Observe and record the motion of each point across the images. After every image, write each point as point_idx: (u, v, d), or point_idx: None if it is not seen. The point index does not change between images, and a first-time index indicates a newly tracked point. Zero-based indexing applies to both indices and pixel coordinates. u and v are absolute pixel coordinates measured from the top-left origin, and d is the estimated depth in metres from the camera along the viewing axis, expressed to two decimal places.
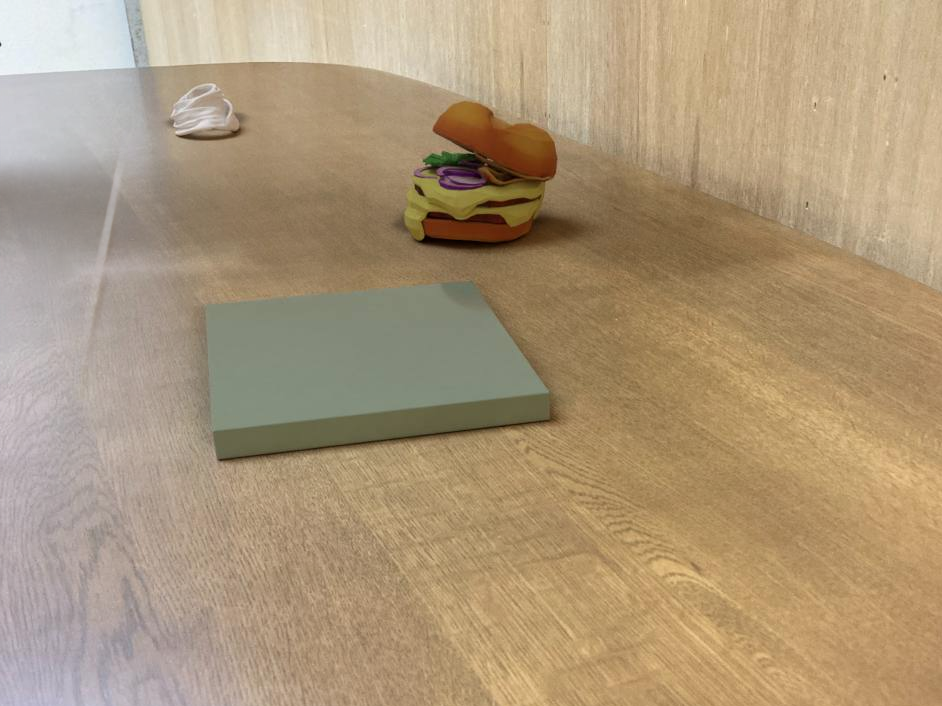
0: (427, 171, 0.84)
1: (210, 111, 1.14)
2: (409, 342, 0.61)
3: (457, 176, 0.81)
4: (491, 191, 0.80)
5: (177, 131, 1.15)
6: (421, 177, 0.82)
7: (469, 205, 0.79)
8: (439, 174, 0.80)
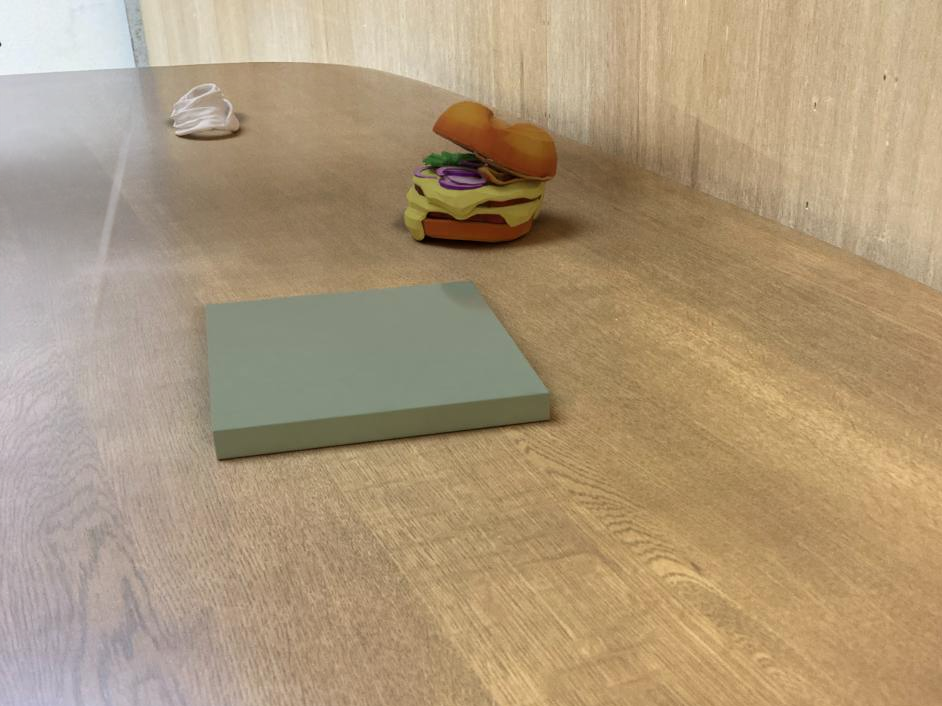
0: (427, 171, 0.84)
1: (210, 111, 1.14)
2: (409, 342, 0.61)
3: (457, 176, 0.81)
4: (491, 191, 0.80)
5: (177, 131, 1.15)
6: (421, 177, 0.82)
7: (469, 205, 0.79)
8: (439, 174, 0.80)
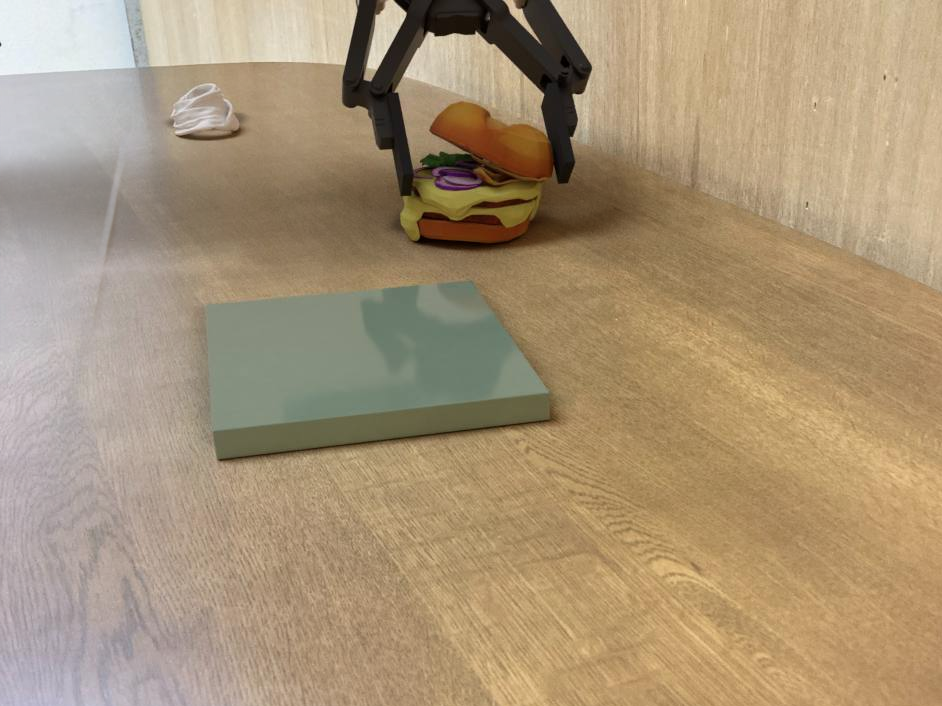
0: (424, 171, 0.84)
1: (210, 111, 1.14)
2: (409, 342, 0.61)
3: (453, 177, 0.81)
4: (486, 192, 0.79)
5: (177, 131, 1.15)
6: (417, 177, 0.82)
7: (464, 206, 0.79)
8: (435, 174, 0.80)
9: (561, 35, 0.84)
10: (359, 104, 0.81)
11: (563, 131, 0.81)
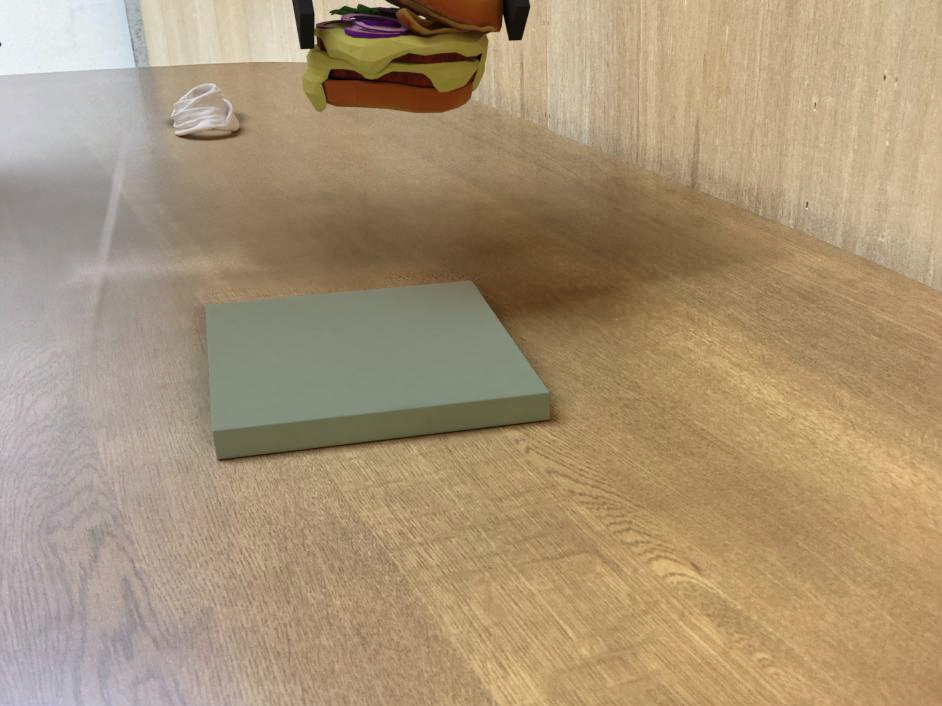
0: (335, 24, 0.64)
1: (210, 111, 1.14)
2: (409, 342, 0.61)
3: (370, 25, 0.62)
4: (412, 41, 0.60)
5: (177, 131, 1.15)
6: (324, 28, 0.63)
7: (382, 58, 0.60)
8: (344, 19, 0.61)
9: None
10: None
11: None
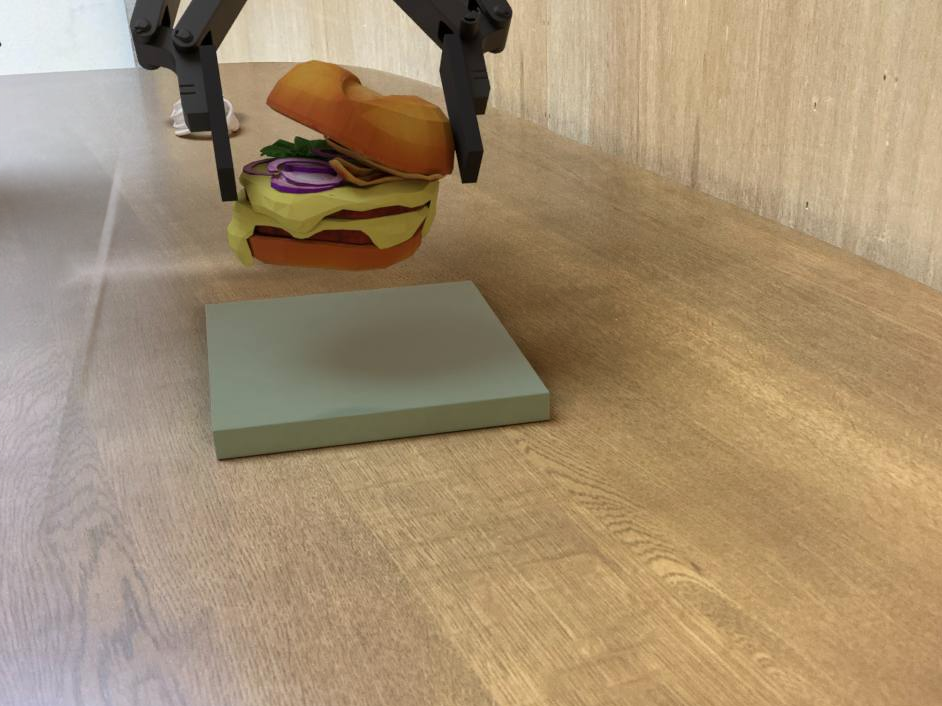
0: (266, 165, 0.57)
1: None
2: (409, 342, 0.61)
3: (302, 173, 0.54)
4: (347, 195, 0.53)
5: (177, 131, 1.15)
6: (251, 174, 0.55)
7: (312, 216, 0.52)
8: (270, 169, 0.53)
9: None
10: (161, 64, 0.54)
11: (466, 105, 0.55)
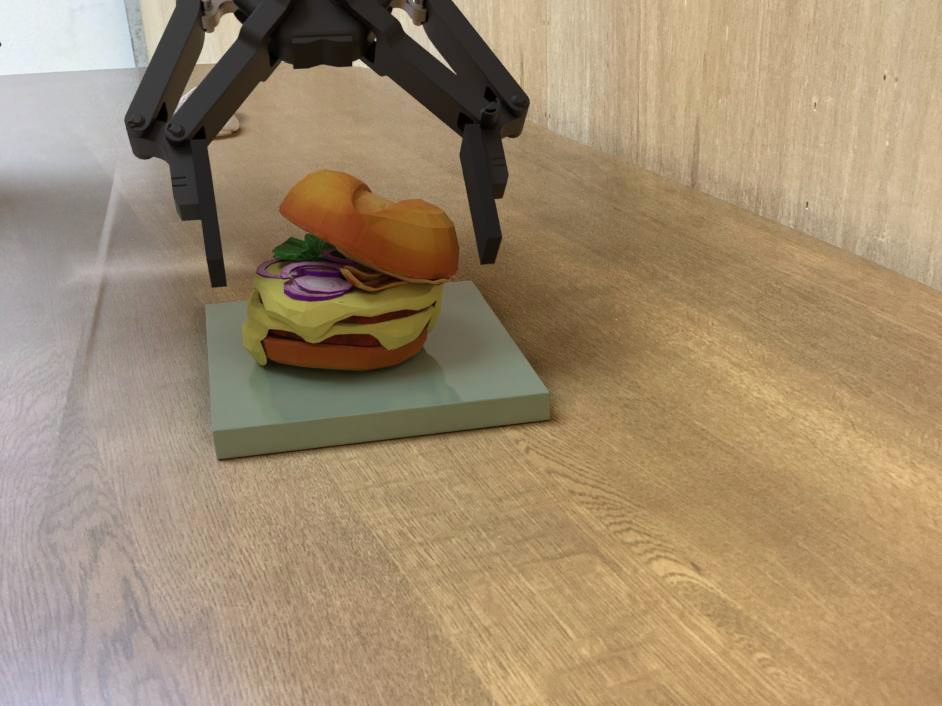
0: (278, 265, 0.59)
1: None
2: None
3: (313, 277, 0.57)
4: (357, 302, 0.55)
5: None
6: (264, 277, 0.58)
7: (323, 323, 0.55)
8: (283, 276, 0.56)
9: (481, 59, 0.60)
10: (154, 155, 0.57)
11: (486, 193, 0.57)
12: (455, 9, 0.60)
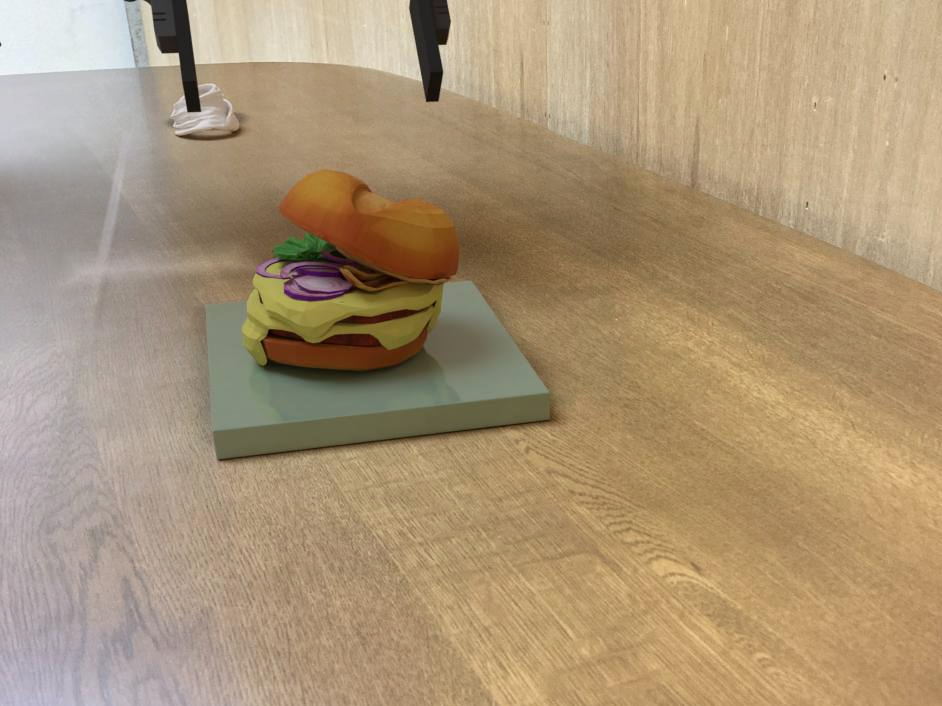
0: (278, 265, 0.59)
1: (210, 111, 1.14)
2: None
3: (313, 277, 0.57)
4: (357, 302, 0.55)
5: (177, 131, 1.15)
6: (264, 276, 0.58)
7: (323, 323, 0.55)
8: (283, 276, 0.56)
9: None
10: None
11: (430, 34, 0.65)
12: None
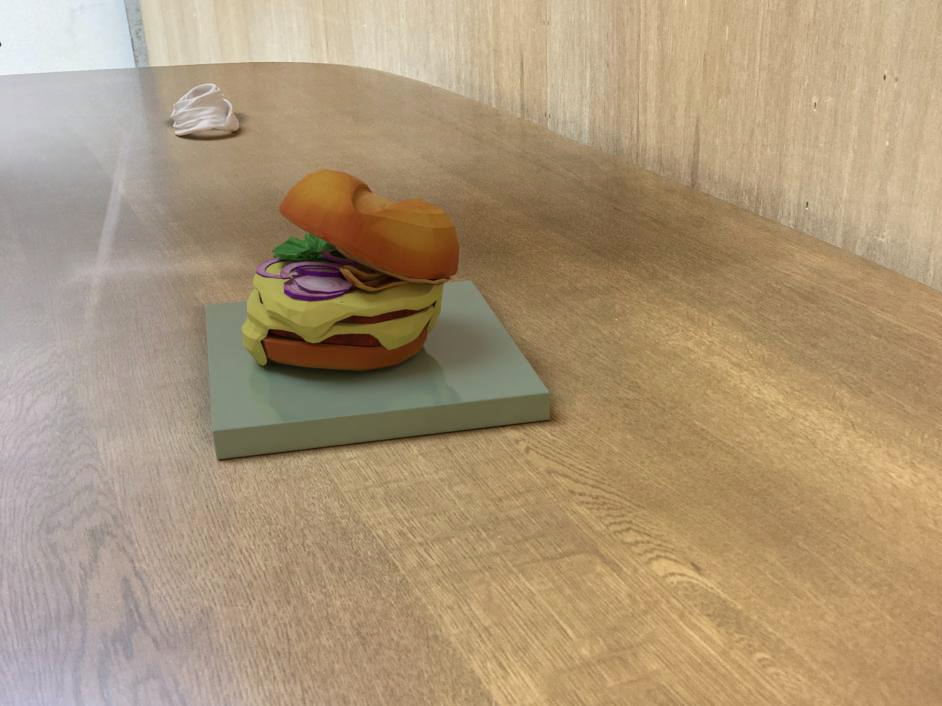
0: (278, 265, 0.59)
1: (210, 111, 1.14)
2: None
3: (313, 277, 0.57)
4: (357, 302, 0.55)
5: (177, 131, 1.15)
6: (264, 276, 0.58)
7: (323, 323, 0.55)
8: (283, 276, 0.56)
9: None
10: None
11: None
12: None
